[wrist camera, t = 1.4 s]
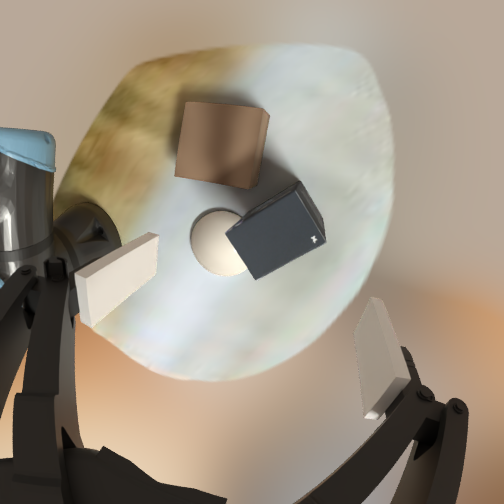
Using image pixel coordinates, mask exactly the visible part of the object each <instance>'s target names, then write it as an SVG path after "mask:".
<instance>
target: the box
mask: <svg viewBox="0 0 504 504" xmlns="http://www.w3.org/2000/svg"><path fill="white" fill-rule="evenodd" d="M225 235H226V236H227V238H228V239H229V241H230V243H231V244H232V246H233V247H234V249H235V250H236V252H237V253H238V255H239V256H240V258H241V259H242V261H243V262H244V264H245V265H246V267H247V268H248V270H249V271H250V273H251V274H252V276H253V278H254V279H255V280H259V279H261V278H262V277H264V276H266V275H268V274H269V273H271V272H273V271H275V270H277V269H279V268H280V267H282V266H284V265H286V264H288V263H290V262H291V261H293V260H295V259H297V258H299V257H301V256H303V255H304V254H306V253H308V252H310V251H312V250H314V249H316V248H318V247H320V246H322V245H324V244H326V237H325V229H324V222H323V218H322V216H321V214H320V212H319V211H318V209H317V207H316V206H315V204H314V202H313V201H312V199H311V197H310V196H309V194H308V192H307V190H306V189H305V187H304V185H303V184H302V182H301V181H298V182H297V183H295V184H294V185H292V186H290V187H289V188H287V189H285V190H284V191H282V192H281V193H279V194H277V195H276V196H274V197H272V198H271V199H269V200H268V201H266V202H264V203H263V204H261V205H259V206H258V207H256V208H254V209H253V210H251V211H249V212H248V213H247V214H246V215H245V216H243V217H242V218H241V219H240V220H239V221H238V222H237V223H235V224H234V225H233V226H232V227H231V228H230V229H228V230H227V231H226V232H225Z"/></svg>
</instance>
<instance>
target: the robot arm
mask: <svg viewBox="0 0 504 504" xmlns="http://www.w3.org/2000/svg"><path fill="white" fill-rule="evenodd" d="M55 148H56V144H55V139H54V137H53V136H52V135H51V134H49V133H48V132H44V131H37V130H26V129H16V128H3V127H0V418H1V415H2V412H3V409H4V406H5V402H6V399H7V397H8V394H9V391H10V388H11V386H12V383H13V381H14V378H15V376H16V373H17V371H18V368H19V366H20V364H21V361H22V359H23V357H24V354H25V352H26V350H27V348H28V351H27V357H26V364H25V372H24V380H23V389H22V393H16V395H15V398H14V408H13V458H3V459H0V504H226V501H227V498H223V497H219V496H216V495H212V494H209V493H206V492H203V491H200V490H197V489H194V488H187V487H180V486H174V485H169V484H164V483H160V482H157V481H156V480H154V479H153V478H151V477H150V476H149V475H147V474H146V473H145V472H143V471H142V470H141V469H140V468H138V467H137V466H136V465H135V464H134V463H132V462H131V461H130V460H128V459H126V458H124V457H122V456H120V455H118V454H116V453H115V452H113V451H111V450H110V449H108V448H106V447H104V446H103V447H102V449H101V450H100V451H98V450H94V449H88V448H84V446H83V443H82V440H81V437H80V433H79V425H78V416H77V405H76V391H75V365H74V363H75V361H74V360H75V359H74V357H75V315H76V314H78V313H80V319H81V322H82V323H84V324H86V325H87V326H89V327H91V328H92V327H93V326H95V325H96V324H97V323H98V322H99V321H100V320H102V319H103V318H104V317H105V316H106V315H107V314H109V313H110V312H111V311H112V310H113V309H115V308H116V307H117V306H118V305H119V304H120V303H122V302H123V301H124V300H125V299H126V298H128V297H129V296H130V295H131V294H133V293H134V292H135V291H136V290H137V289H139V288H140V287H141V286H142V285H144V284H145V283H146V282H147V281H148V280H150V279H151V278H152V277H153V276H155V275H156V267H157V253H158V242H159V235H157V234H153V233H150V232H148V233H146V234H144V235H142V236H140V237H139V238H137V239H135V240H133V241H131V242H129V243H127V244H125V245H124V246H121V241H120V237H119V234H118V232H117V229H116V227H115V225H114V224H113V222H112V220H111V219H110V217H109V216H108V215H107V214H106V213H105V212H104V211H103V210H102V209H101V208H99V207H98V206H96V205H94V204H91V203H81V204H78V205H74V206H72V207H70V208H68V209H67V210H66V211H65V212H64V213H62V214H61V215H60V216H59V217H58V218H57V219H56V220H55V221H53V183H54V172H56V168H55ZM353 335H354V342H355V349H356V355H357V362H358V370H359V378H360V386H361V395H362V404H363V415H364V418H368V419H377V420H378V419H379V418H380V417H381V416H382V415H383V413H384V412H385V414H386V419H385V420H384V422H383V423H382V424H381V425H380V426H379V427H378V428H377V429H376V430H375V431H374V433H373V434H372V435H371V436H370V437H369V438H368V439H367V440H366V441H365V442H364V443H363V445H362V446H360V447H359V448H358V449H357V450H356V451H355V452H354V453H353V454H352V455H351V456H350V457H349V458H348V459H347V460H346V461H345V462H344V463H343V464H342V465H341V466H339V467H338V468H337V469H336V470H335V471H334V472H333V473H332V474H331V475H329V476H328V477H327V478H326V479H325V480H323V481H322V482H321V483H320V484H318V485H317V486H316V487H315V488H313V489H312V490H311V491H310V492H308V493H307V494H306V495H304V496H303V497H302V498H300V499H299V500H298V501H296V502H295V503H293V504H361V503H362V502H363V501H364V500H365V499H366V498H367V497H368V496H369V495H370V494H371V492H372V491H373V490H374V489H375V488H376V487H377V486H378V484H379V483H380V482H381V481H382V480H383V478H384V477H385V476H386V475H387V473H388V472H389V471H390V470H391V468H392V467H393V466H394V464H395V463H396V461H398V459H399V458H400V456H401V455H402V454H403V452H404V451H405V449H406V448H407V447H408V445H409V443H410V442H411V441H412V439H413V440H414V443H413V447H412V450H411V453H410V456H409V459H408V462H407V464H406V467H405V470H404V472H403V475H402V478H401V480H400V483H399V485H398V487H397V490H396V492H395V494H394V497H393V499H392V501H391V503H390V504H455V503H456V499H457V495H458V491H459V487H460V482H461V477H462V471H463V465H464V459H465V451H466V442H467V432H468V416H469V412H468V408H467V406H466V404H465V403H464V402H463V401H462V400H460V399H458V398H452V399H450V400H449V401H448V402H447V403H446V404H443V403H441V402H438V401H435V397H434V394H433V392H432V391H431V390H430V389H429V388H428V387H426V386H424V385H422V384H421V381H420V378H419V375H418V373H417V370H416V368H415V364H414V362H413V358H412V356H411V354H410V352H409V351H408V350H407V349H406V347H402V346H400V344H399V342H398V339H397V336H396V334H395V331H394V328H393V326H392V323H391V320H390V318H389V315H388V313H387V310H386V308H385V306H384V303H383V301H382V299H378V298H374V297H370V300H369V302H368V304H367V306H366V308H365V310H364V313H363V315H362V317H361V319H360V321H359V323H358V325H357V327H356V329H355V331H354V333H353Z"/></svg>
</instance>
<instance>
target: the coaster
mask: <svg viewBox="0 0 504 504" xmlns="http://www.w3.org/2000/svg"><path fill="white" fill-rule="evenodd" d="M241 218H242V217H240V216H238V215H237V214H234V213H232V212H228V211H216V212H212V213H209V214H208V215H206V216H204V217H203V218H201V219H200V220H199V221H198V222H197V224H196V225H195V227H194V229H193V232H192V236H191V245H192V250H193V253H194V255H195V257H196V259H197V261H198V262H199V263H200V264H201V265H202V266H203V267H204V268H205V269H206V270H208V271H209V272H211V273H213V274H216V275H219V276H234V275H237V274H239V273H241V272H243V271H244V270H246V269H247V267H246V265H245V264H244V262H243V261H242V259H241V258H240V256H239V255H238V253H237V252H236V250H235V249H234V247H233V246H232V244H231V243H230V241H229V239H228V238H227V236H226V235H225V232H226V231H227V230H228V229H230V228H231V227H232V226H233V225H234V224H235V223H237V222H238V221H239V220H240V219H241Z"/></svg>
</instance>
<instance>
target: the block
mask: <svg viewBox="0 0 504 504" xmlns="http://www.w3.org/2000/svg"><path fill="white" fill-rule="evenodd" d="M269 118H270V115H269V114H268V113H267V112H266V111H265V110H264V109H262V108H255V107H247V106H238V105H229V104H218V103H205V102H186V104H185V110H184V115H183V121H182V127H181V133H180V139H179V146H178V153H177V160H176V167H175V175H174V176H175V177H182V178H188V179H194V180H200V181H206V182H211V183H217V184H222V185H228V186H233V187H238V188H243V189H248V190H249V189H251V188H253V187H255V186H257V183H258V177H259V172H260V166H261V161H262V155H263V150H264V145H265V139H266V134H267V128H268V123H269Z"/></svg>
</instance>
